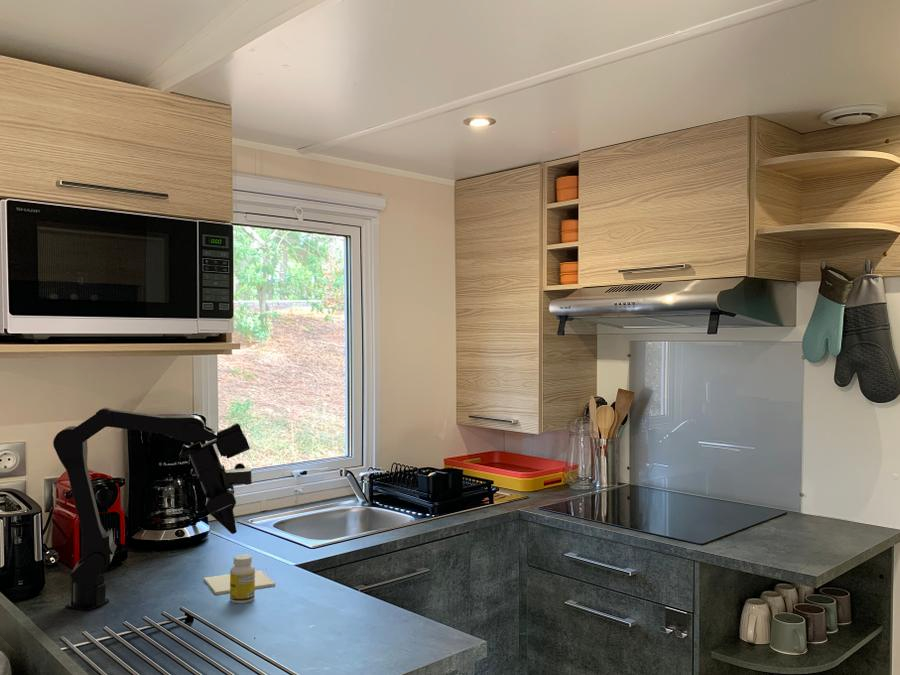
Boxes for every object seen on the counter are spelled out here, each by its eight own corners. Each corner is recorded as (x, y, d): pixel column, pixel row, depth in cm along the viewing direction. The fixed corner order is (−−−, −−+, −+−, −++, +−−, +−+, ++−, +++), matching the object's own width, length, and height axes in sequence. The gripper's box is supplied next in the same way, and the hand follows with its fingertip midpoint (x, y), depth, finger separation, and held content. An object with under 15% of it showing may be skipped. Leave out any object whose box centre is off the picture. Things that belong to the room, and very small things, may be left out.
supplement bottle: (228, 597, 174) (229, 554, 174) (253, 594, 176) (253, 552, 176) (230, 605, 169) (231, 560, 169) (255, 602, 171) (256, 558, 171)
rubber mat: (215, 594, 175) (215, 592, 175) (204, 580, 186) (204, 577, 186) (275, 585, 182) (275, 583, 182) (260, 572, 193) (260, 569, 193)
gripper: (243, 458, 168) (270, 522, 170) (240, 447, 186) (264, 505, 188) (194, 479, 165) (221, 544, 167) (195, 466, 183) (220, 524, 185)
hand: (233, 528), depth 177 cm, fingers open, 9 cm apart
